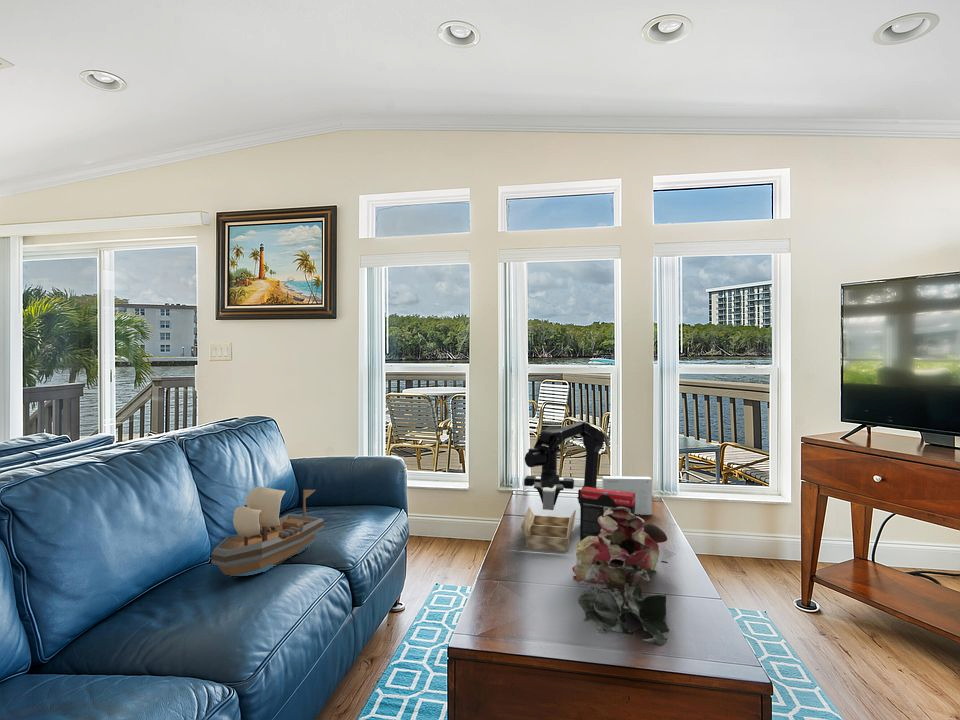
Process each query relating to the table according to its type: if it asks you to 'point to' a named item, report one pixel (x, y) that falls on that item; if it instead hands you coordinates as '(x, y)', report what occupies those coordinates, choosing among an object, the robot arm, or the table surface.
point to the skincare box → (633, 490)
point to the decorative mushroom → (655, 533)
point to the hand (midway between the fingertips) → (548, 504)
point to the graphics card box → (600, 507)
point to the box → (548, 498)
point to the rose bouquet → (620, 575)
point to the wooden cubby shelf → (547, 531)
